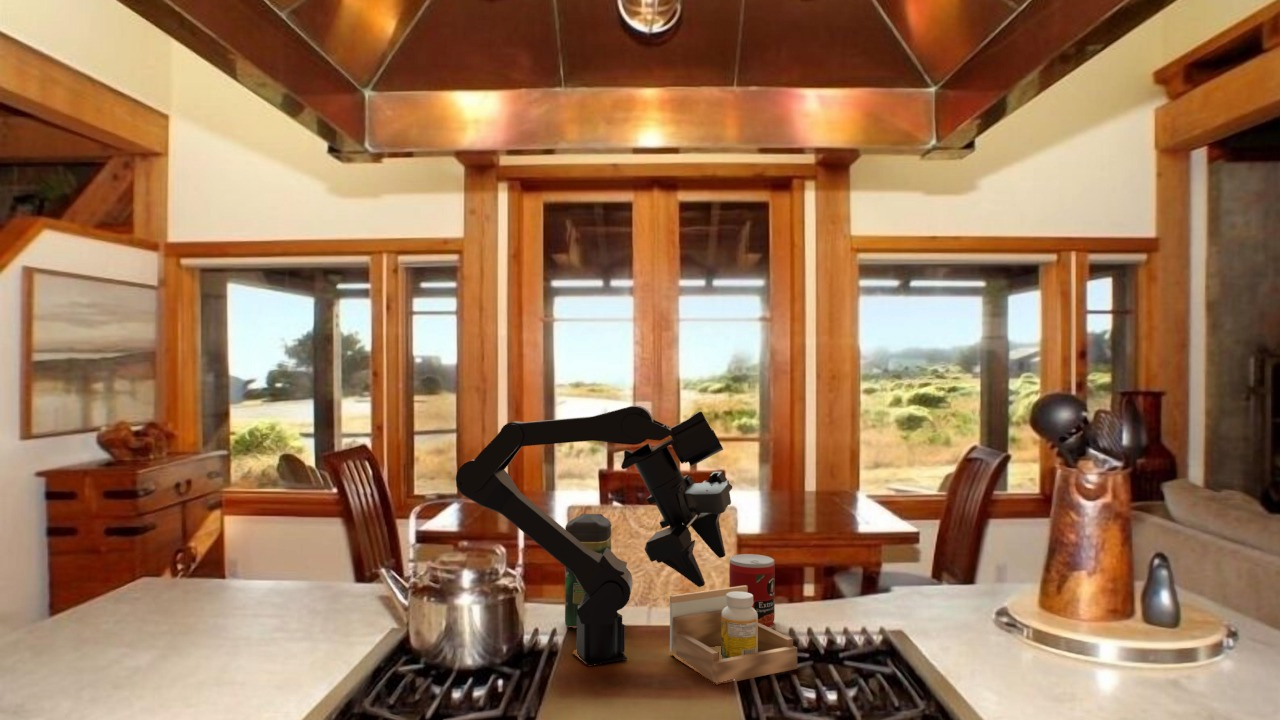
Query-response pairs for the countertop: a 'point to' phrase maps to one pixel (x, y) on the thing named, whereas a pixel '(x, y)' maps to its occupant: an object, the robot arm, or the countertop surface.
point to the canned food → (756, 582)
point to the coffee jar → (596, 538)
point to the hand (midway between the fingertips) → (712, 570)
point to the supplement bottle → (739, 625)
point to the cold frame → (705, 632)
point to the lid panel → (699, 603)
